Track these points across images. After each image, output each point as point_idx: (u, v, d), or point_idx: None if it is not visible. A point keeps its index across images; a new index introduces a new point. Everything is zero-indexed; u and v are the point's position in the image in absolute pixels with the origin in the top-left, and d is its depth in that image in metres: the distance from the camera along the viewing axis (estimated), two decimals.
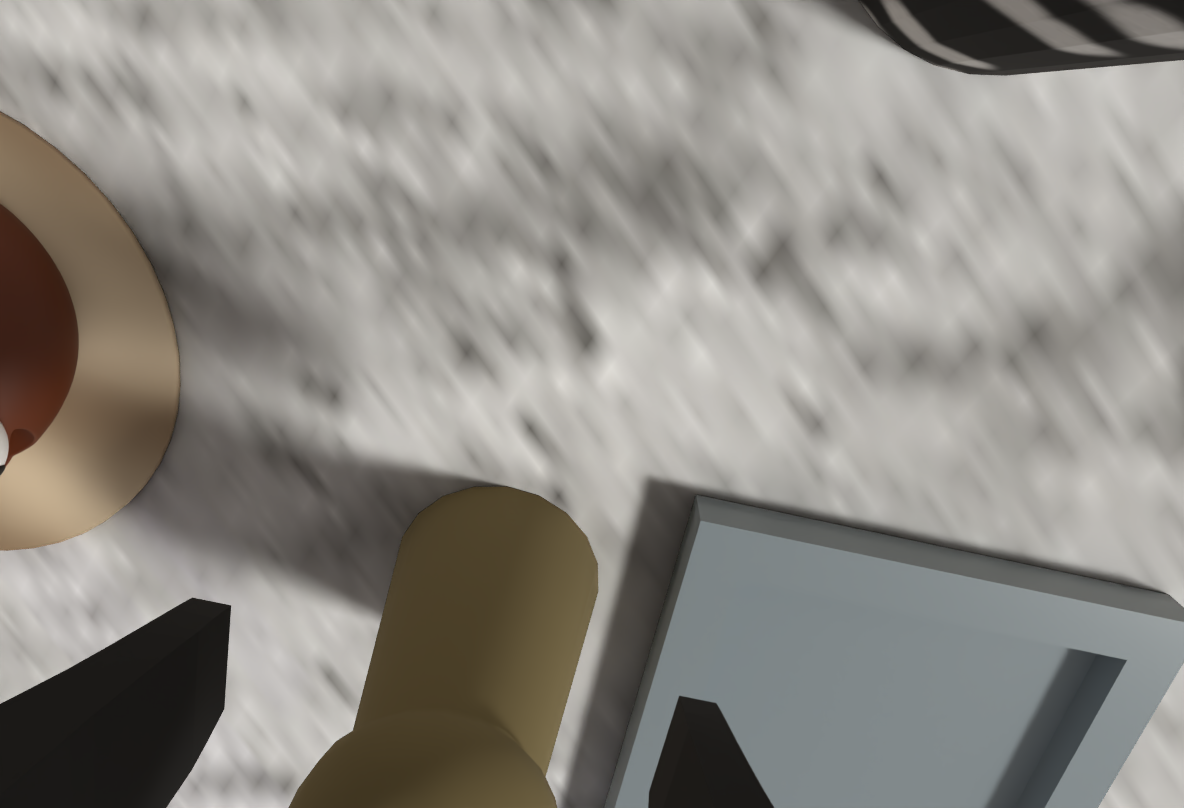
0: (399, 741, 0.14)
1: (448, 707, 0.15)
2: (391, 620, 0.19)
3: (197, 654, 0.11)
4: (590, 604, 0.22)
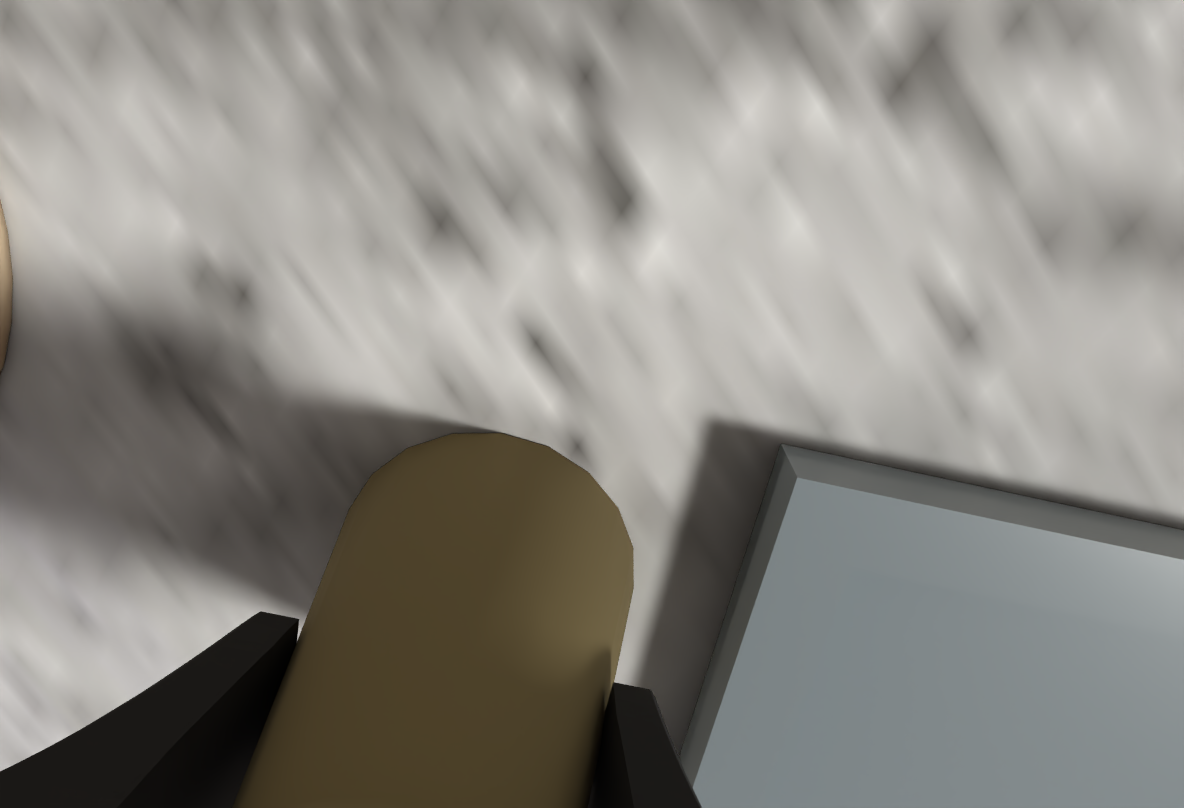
0: None
1: (388, 796, 0.08)
2: (311, 632, 0.11)
3: (270, 669, 0.11)
4: (625, 607, 0.15)
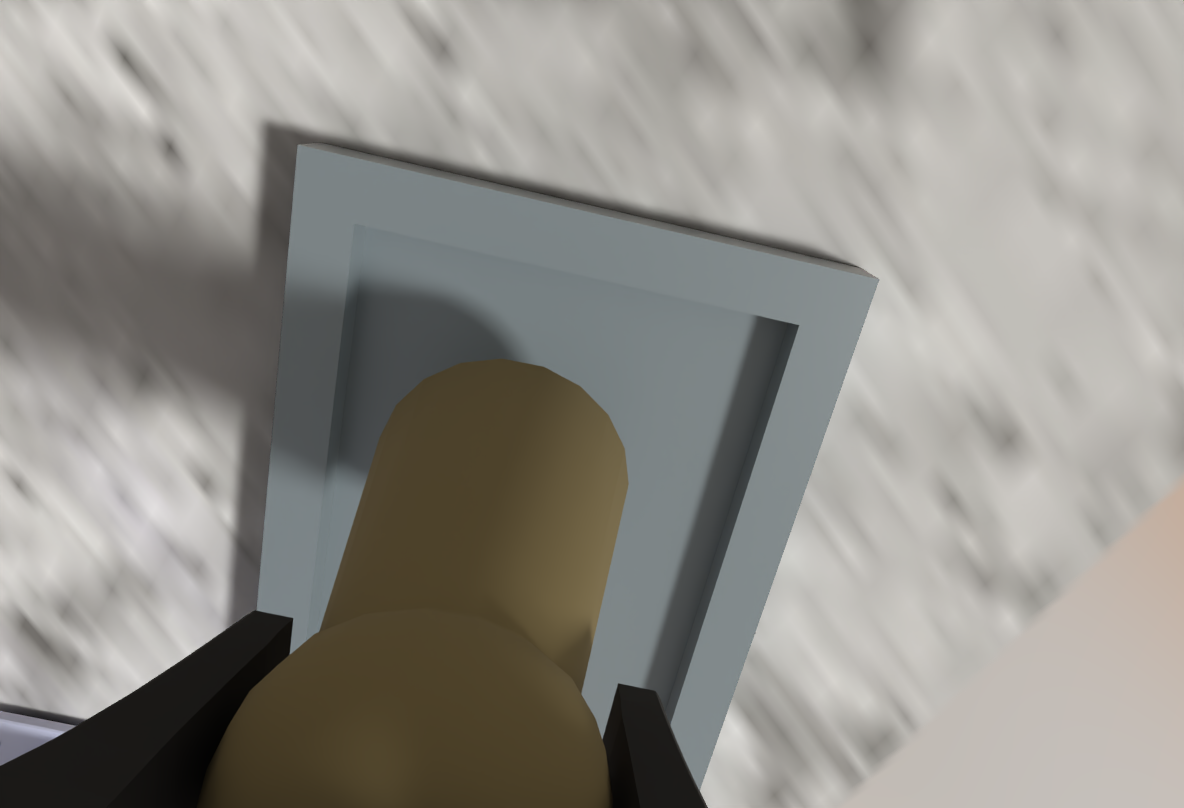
0: (358, 647, 0.09)
1: (434, 606, 0.11)
2: (361, 519, 0.14)
3: (265, 667, 0.11)
4: (620, 495, 0.18)
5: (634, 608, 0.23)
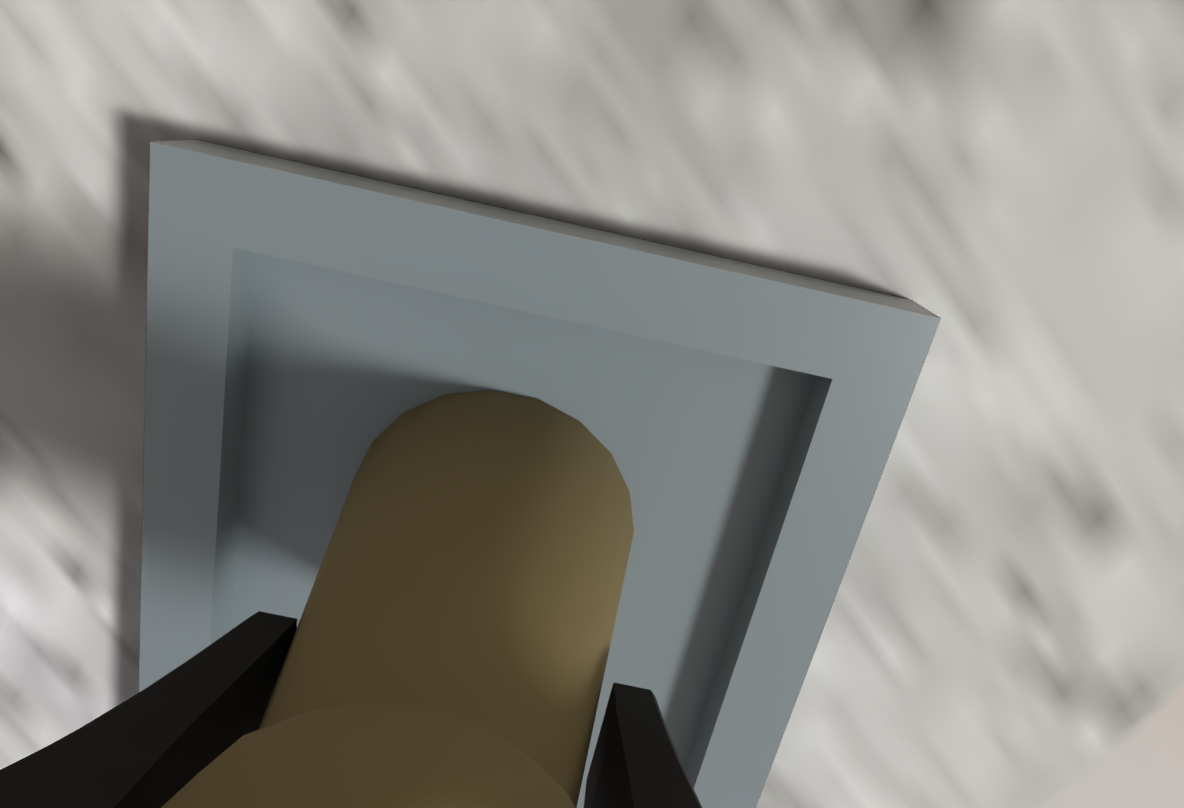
0: (289, 763, 0.07)
1: (395, 697, 0.09)
2: (321, 577, 0.12)
3: (269, 668, 0.11)
4: (624, 545, 0.15)
5: None
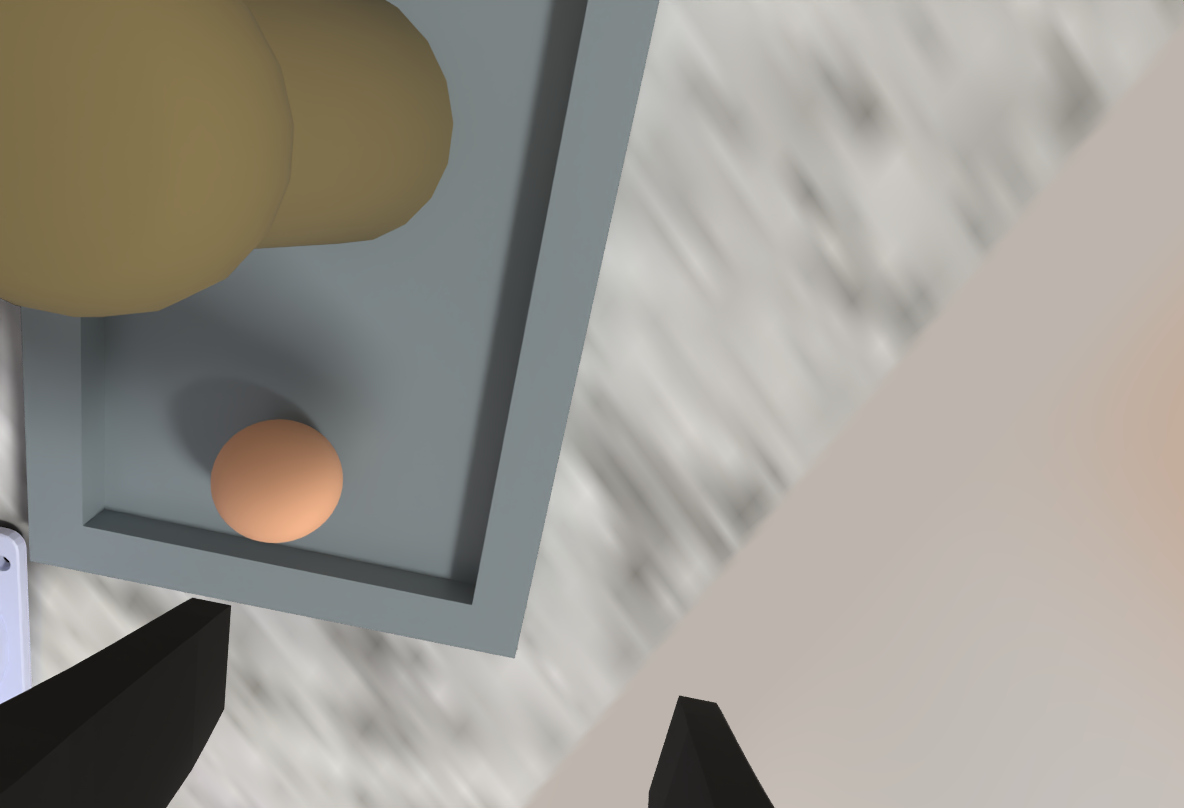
0: None
1: None
2: None
3: (197, 654, 0.11)
4: (431, 104, 0.18)
5: (456, 332, 0.21)
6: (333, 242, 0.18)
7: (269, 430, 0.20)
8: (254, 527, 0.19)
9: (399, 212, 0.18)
